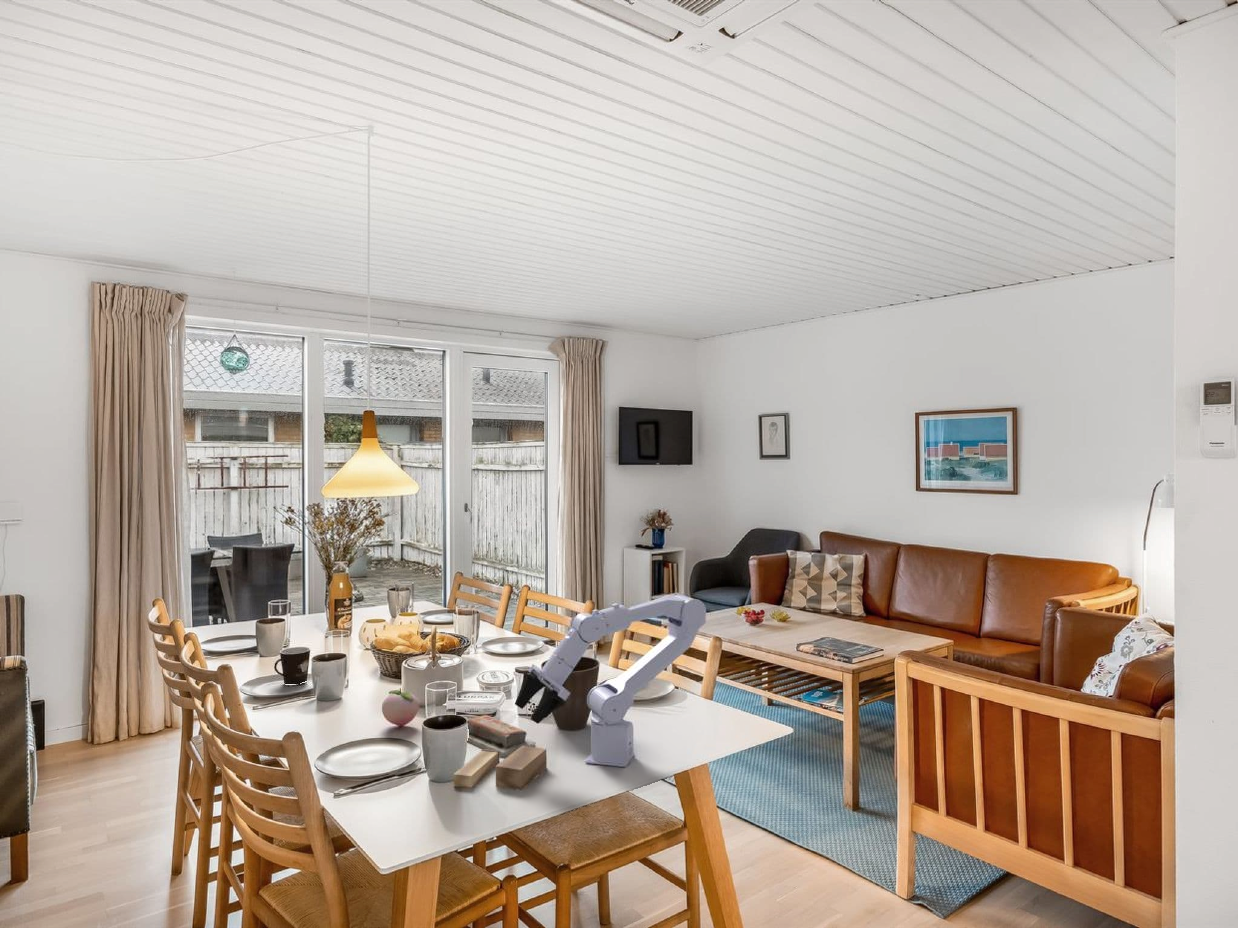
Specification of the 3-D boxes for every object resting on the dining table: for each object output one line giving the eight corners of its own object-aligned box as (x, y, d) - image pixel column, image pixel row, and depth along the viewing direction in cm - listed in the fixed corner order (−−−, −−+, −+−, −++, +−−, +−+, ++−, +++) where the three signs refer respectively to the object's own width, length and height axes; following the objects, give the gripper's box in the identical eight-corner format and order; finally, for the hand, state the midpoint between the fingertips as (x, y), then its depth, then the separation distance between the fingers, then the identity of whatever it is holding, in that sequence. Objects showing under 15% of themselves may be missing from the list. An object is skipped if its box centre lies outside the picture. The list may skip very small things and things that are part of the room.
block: (546, 768, 171) (546, 748, 171) (521, 791, 160) (521, 769, 159) (522, 765, 173) (522, 745, 173) (495, 787, 162) (495, 765, 162)
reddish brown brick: (458, 719, 189) (491, 710, 196) (458, 739, 189) (491, 729, 196) (502, 738, 177) (536, 727, 184) (502, 759, 177) (536, 747, 184)
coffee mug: (304, 677, 242) (304, 645, 242) (315, 682, 236) (314, 650, 236) (265, 684, 234) (265, 651, 234) (275, 690, 228) (275, 657, 228)
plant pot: (544, 738, 188) (544, 673, 188) (538, 718, 203) (538, 657, 203) (605, 733, 191) (604, 669, 191) (594, 713, 206) (594, 654, 206)
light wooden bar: (499, 761, 174) (499, 750, 174) (471, 787, 161) (471, 775, 161) (483, 760, 175) (482, 748, 175) (453, 785, 162) (453, 773, 162)
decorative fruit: (374, 729, 195) (373, 690, 195) (396, 719, 203) (396, 681, 202) (403, 735, 191) (402, 695, 191) (424, 724, 198) (424, 686, 198)
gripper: (535, 641, 175) (499, 692, 172) (568, 664, 163) (529, 720, 160) (555, 655, 179) (520, 705, 175) (588, 679, 167) (551, 734, 164)
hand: (526, 713), depth 168 cm, fingers open, 7 cm apart
